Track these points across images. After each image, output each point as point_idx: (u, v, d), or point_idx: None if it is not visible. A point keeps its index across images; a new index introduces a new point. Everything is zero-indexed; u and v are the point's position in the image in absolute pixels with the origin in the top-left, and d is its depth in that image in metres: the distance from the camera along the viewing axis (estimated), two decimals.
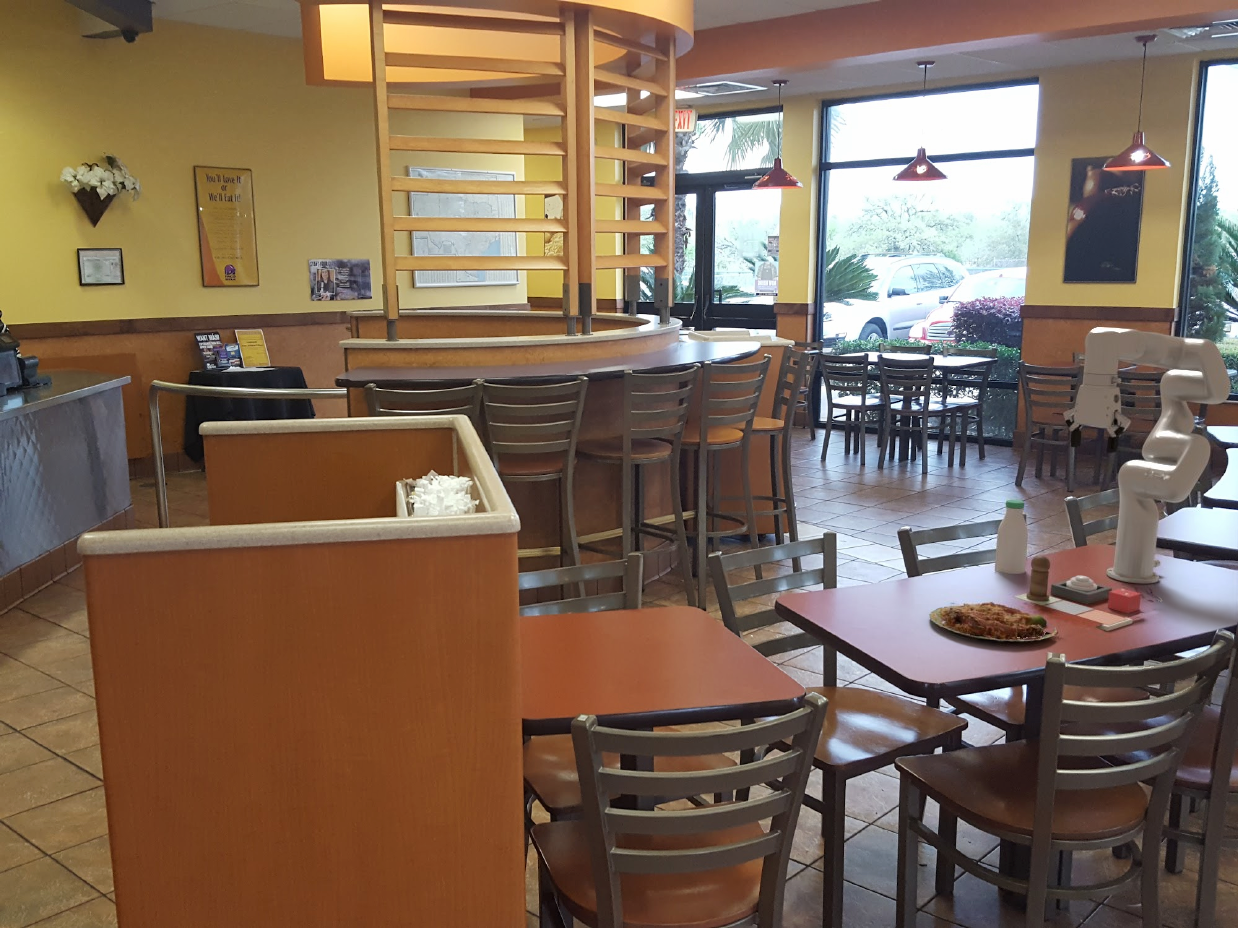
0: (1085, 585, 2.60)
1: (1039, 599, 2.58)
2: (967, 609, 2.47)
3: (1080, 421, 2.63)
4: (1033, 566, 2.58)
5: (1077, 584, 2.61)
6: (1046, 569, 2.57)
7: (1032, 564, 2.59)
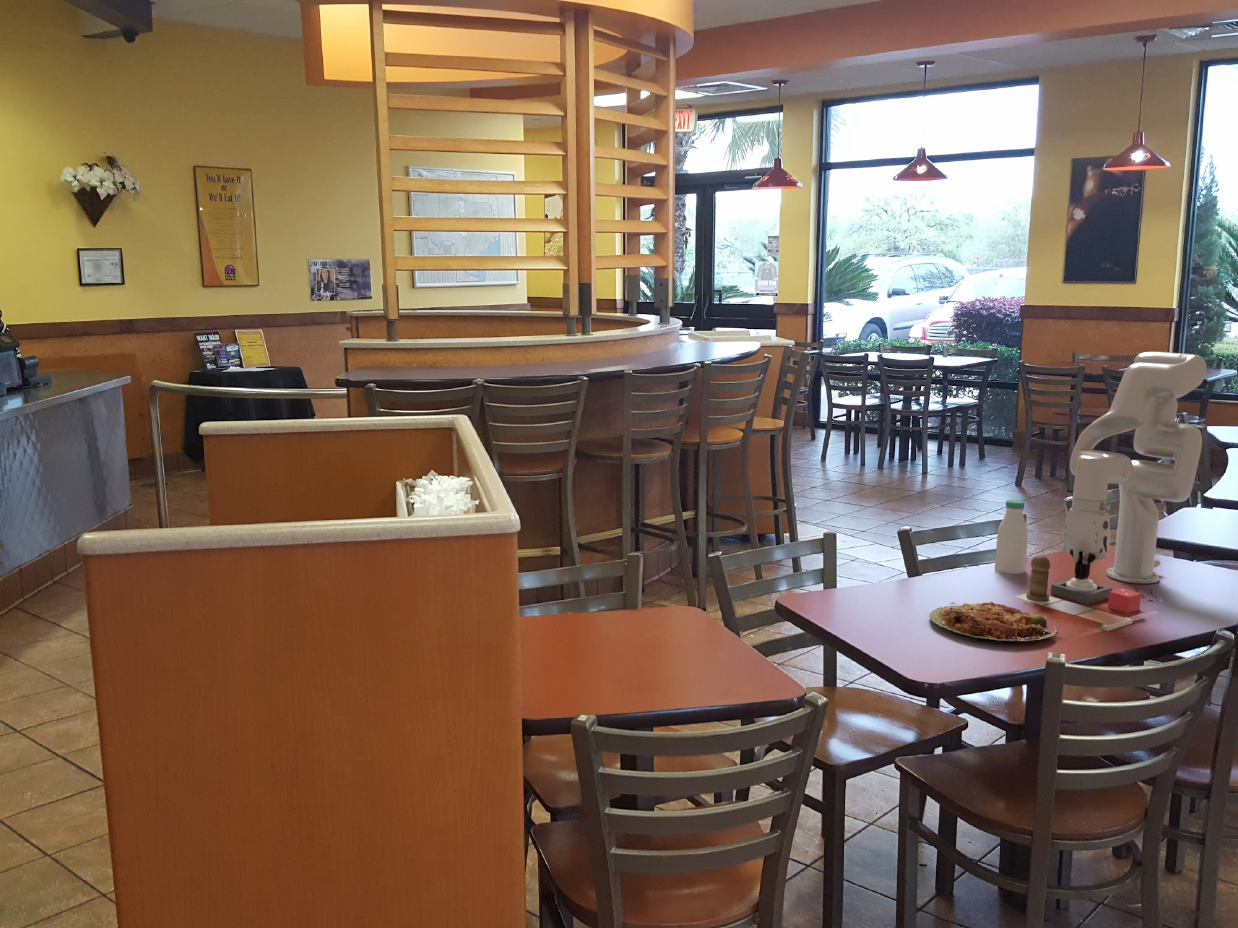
0: (1085, 586, 2.60)
1: (1039, 599, 2.58)
2: (967, 609, 2.47)
3: (1069, 544, 2.61)
4: (1033, 566, 2.58)
5: (1077, 585, 2.61)
6: (1046, 569, 2.57)
7: (1032, 564, 2.59)
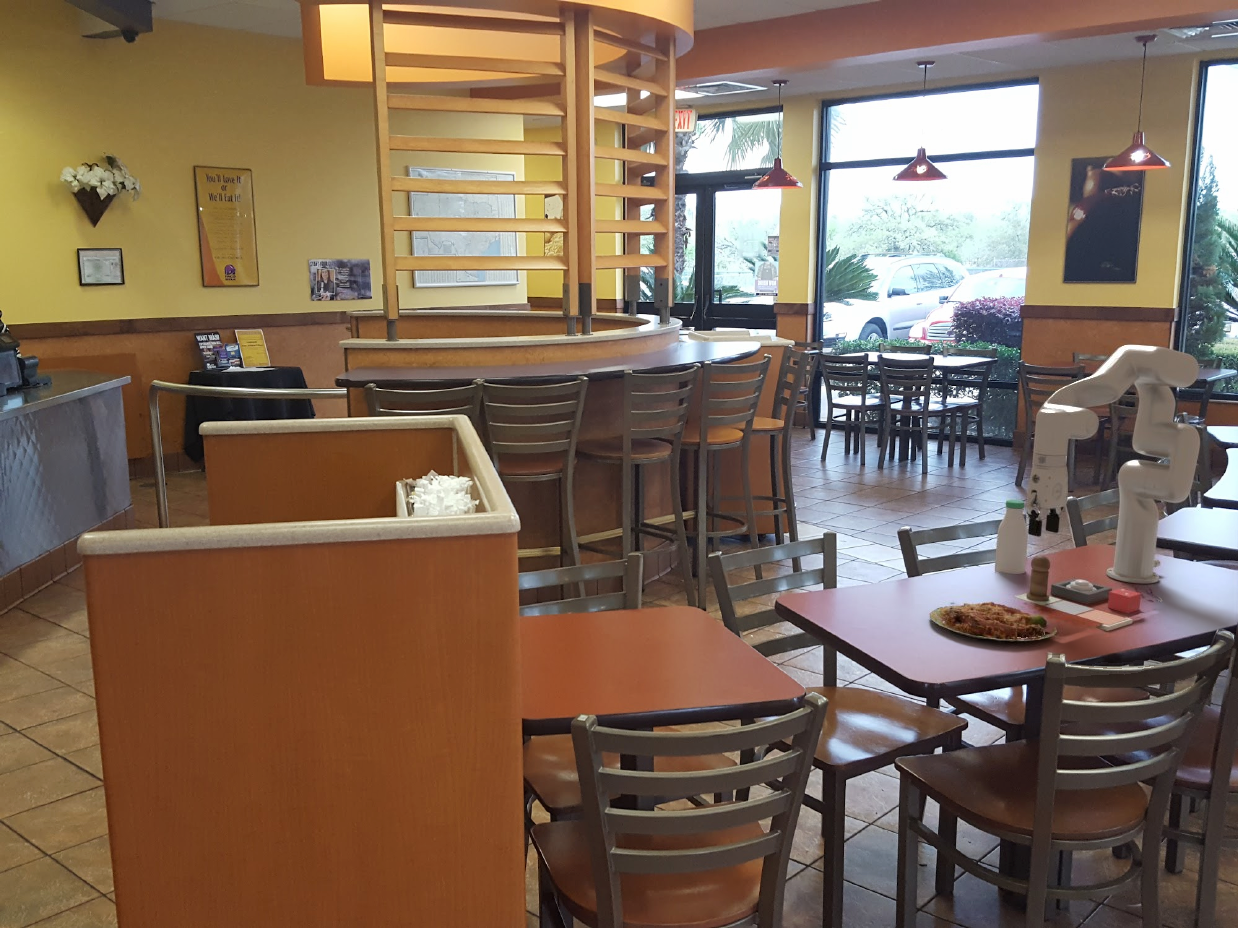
0: (1085, 589, 2.60)
1: (1039, 599, 2.58)
2: (967, 609, 2.47)
3: None
4: (1033, 566, 2.58)
5: (1077, 588, 2.61)
6: (1046, 569, 2.57)
7: (1032, 564, 2.59)
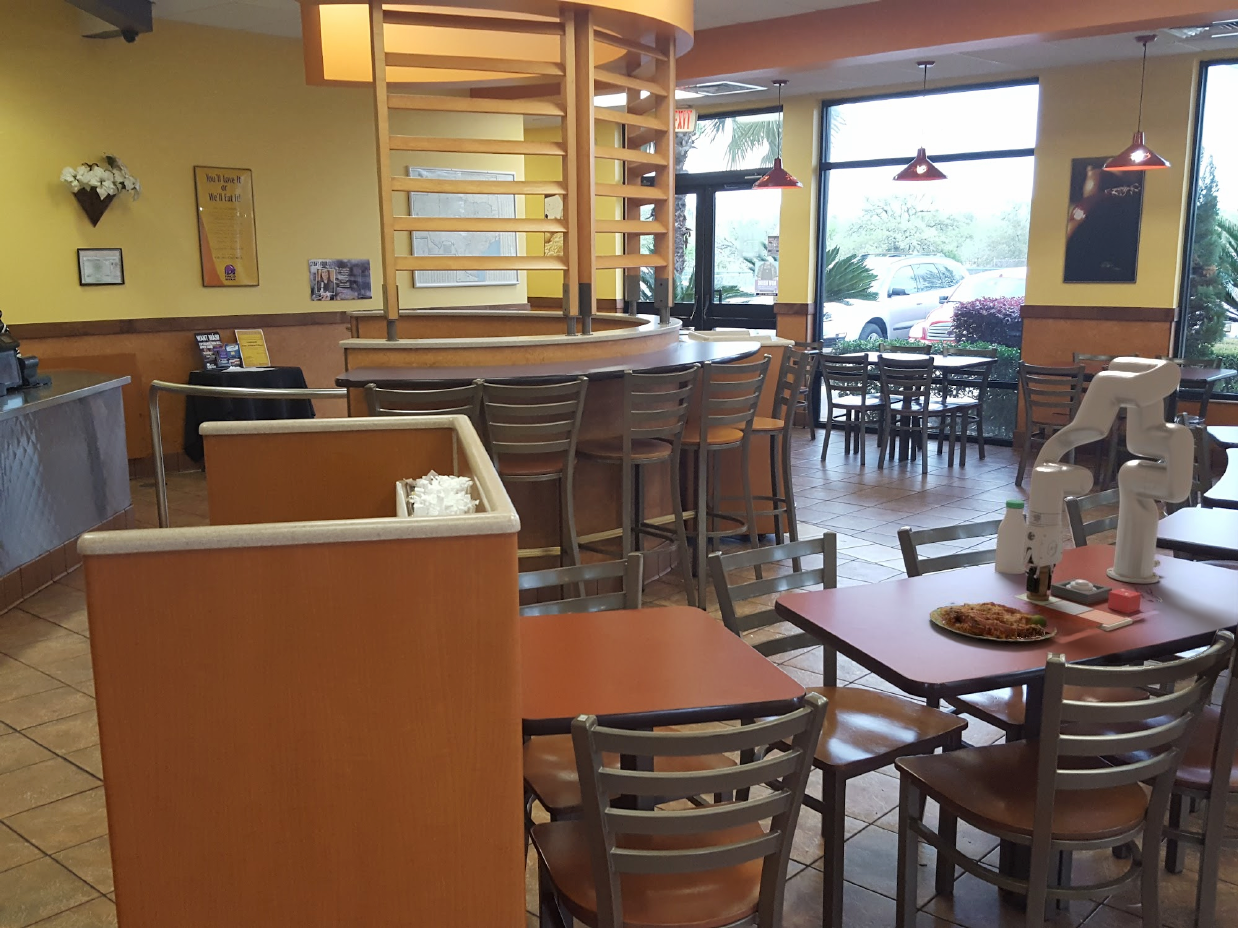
0: (1085, 589, 2.60)
1: (1039, 599, 2.58)
2: (967, 609, 2.47)
3: None
4: None
5: (1077, 588, 2.61)
6: (1046, 569, 2.57)
7: None
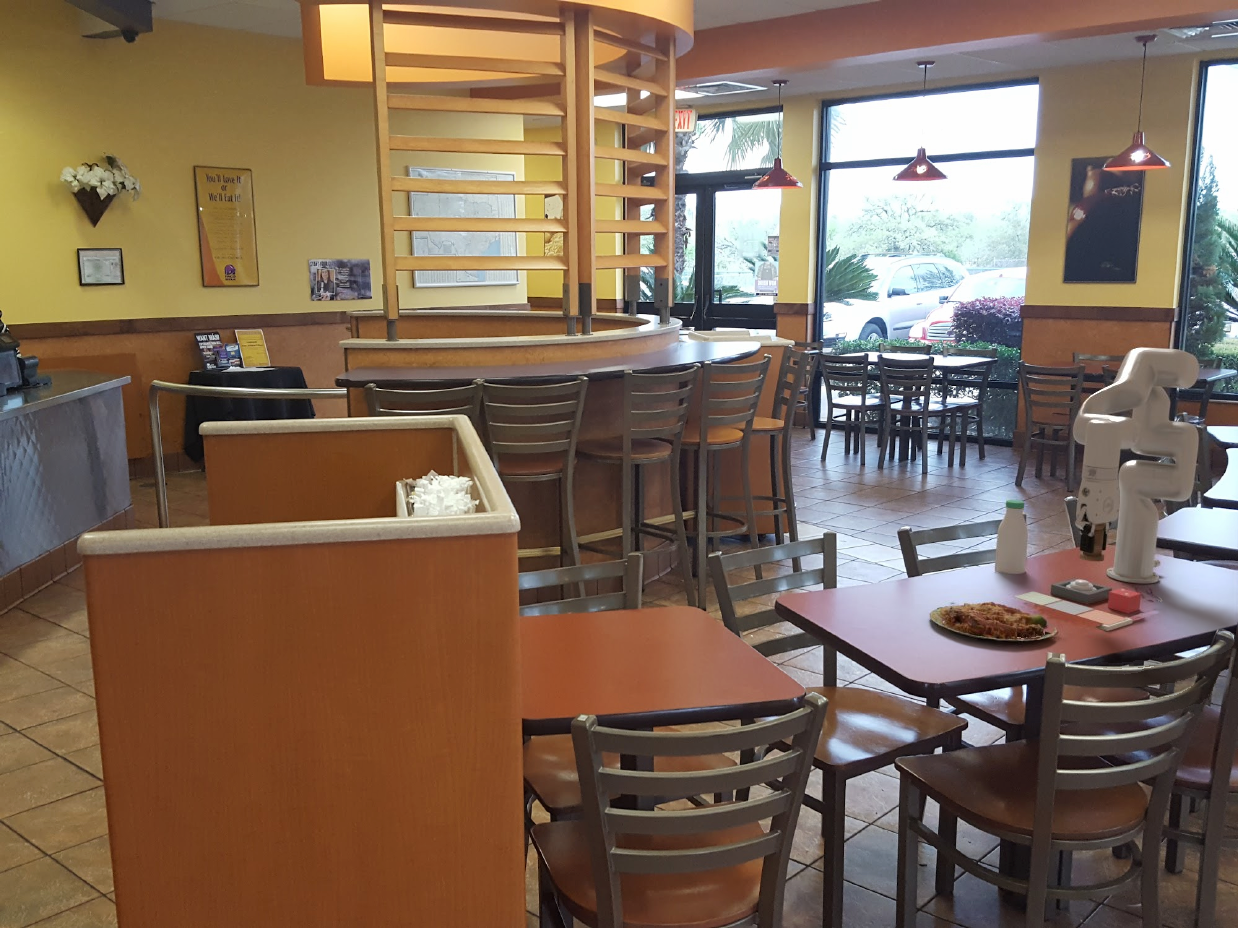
0: (1085, 589, 2.60)
1: (1093, 559, 2.45)
2: (967, 609, 2.47)
3: None
4: (1087, 524, 2.45)
5: (1077, 588, 2.61)
6: (1101, 527, 2.44)
7: None
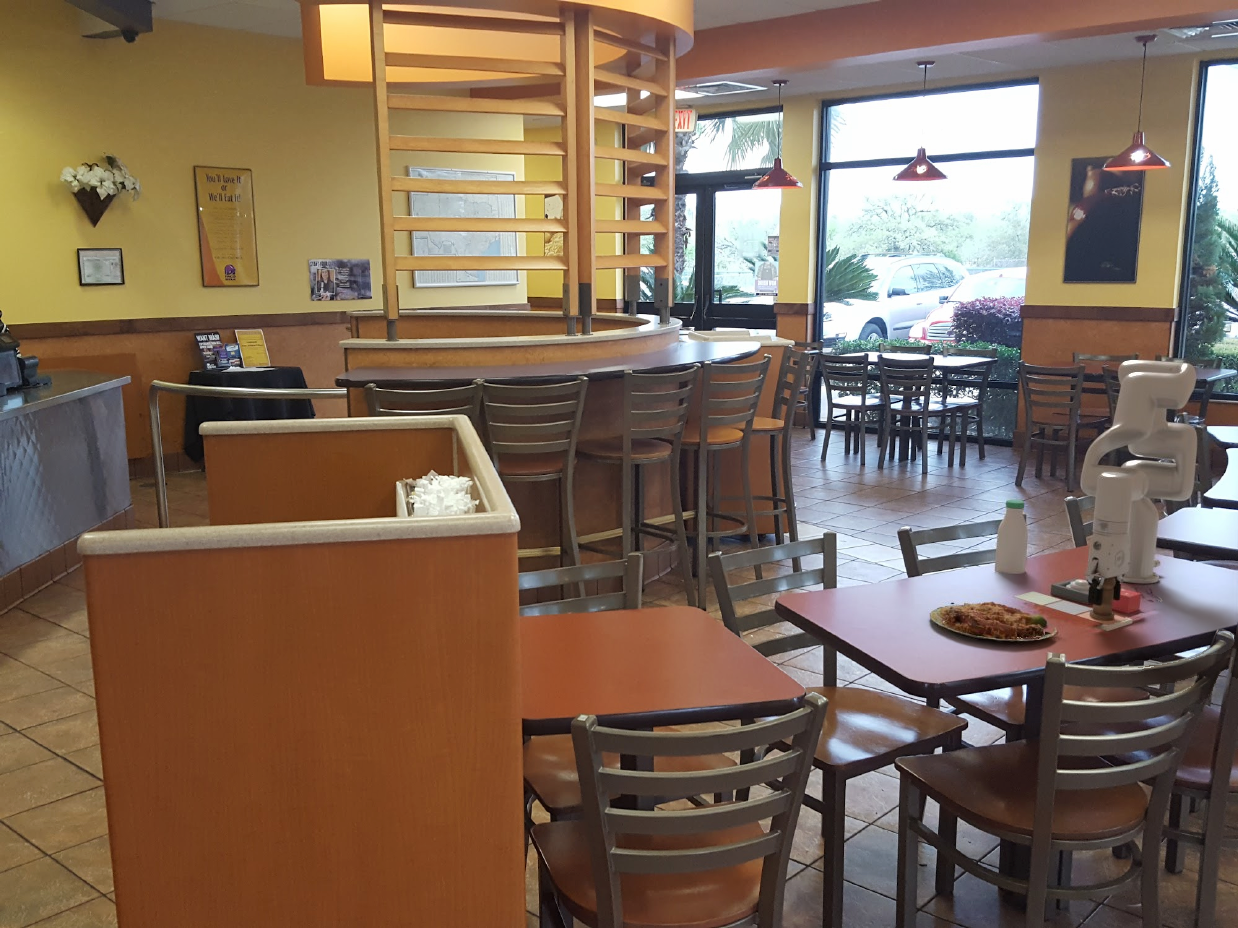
0: (1085, 589, 2.60)
1: (1104, 618, 2.44)
2: (967, 608, 2.48)
3: None
4: None
5: (1077, 588, 2.61)
6: (1111, 586, 2.43)
7: None
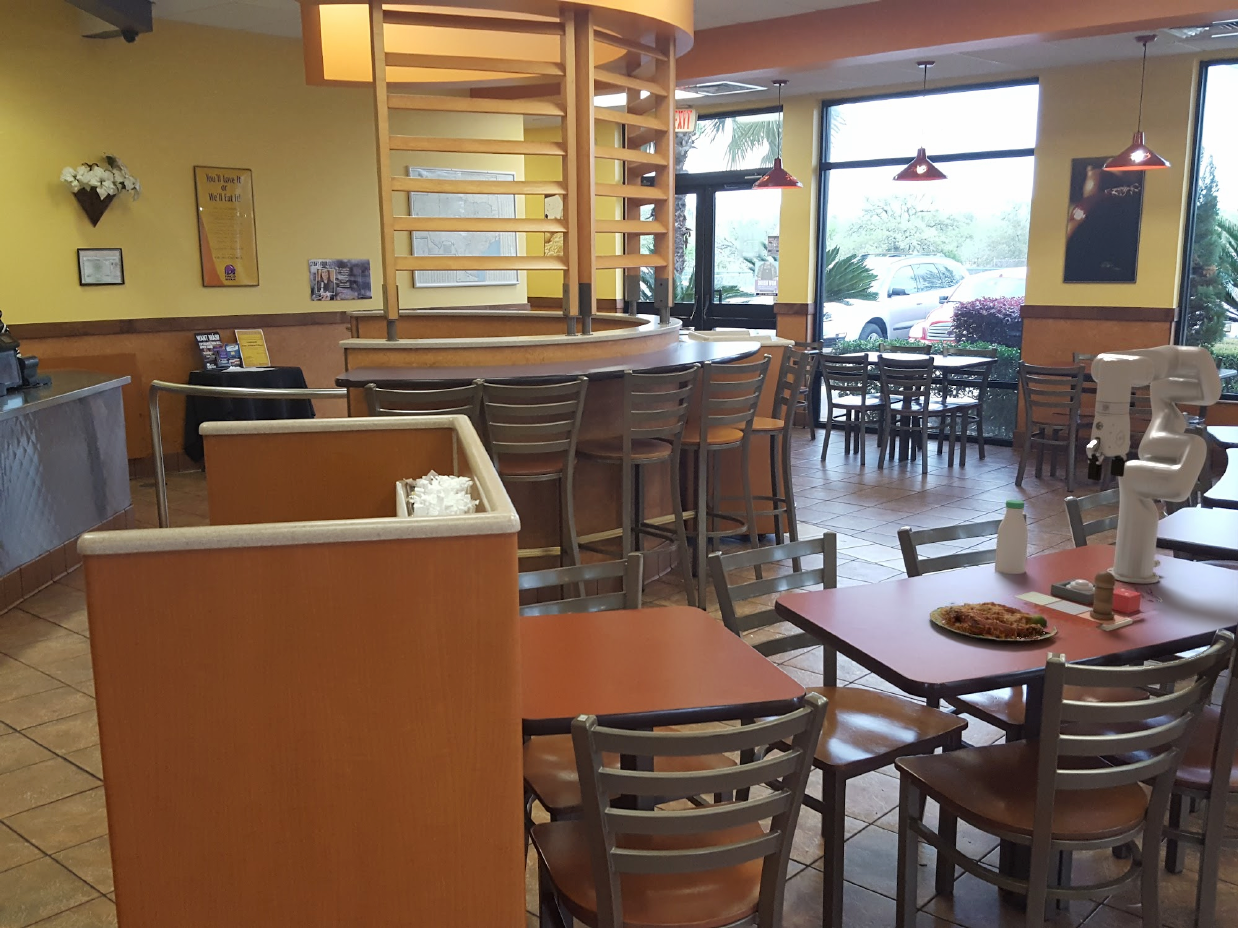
0: (1085, 589, 2.60)
1: (1105, 617, 2.44)
2: (967, 608, 2.48)
3: None
4: (1098, 582, 2.45)
5: (1077, 588, 2.61)
6: (1112, 585, 2.44)
7: (1097, 580, 2.45)
